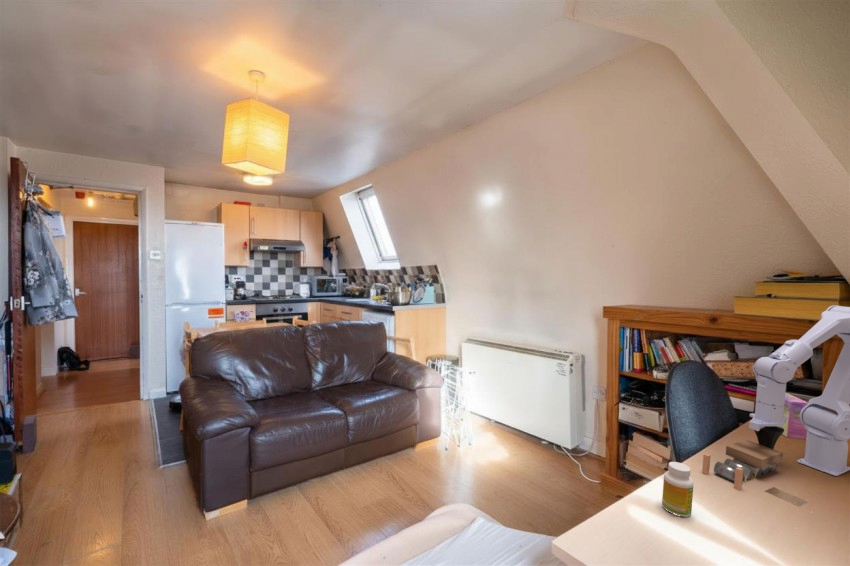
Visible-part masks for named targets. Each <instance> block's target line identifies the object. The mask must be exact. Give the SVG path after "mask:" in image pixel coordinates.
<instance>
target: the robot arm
mask: <svg viewBox="0 0 850 566" xmlns="http://www.w3.org/2000/svg"><path fill="white" fill-rule="evenodd" d="M820 314H821V315H820V320H818V322H816V323H815V324H814V325H813V326H812V327H811V328H810V329H809V330H807V332H805V333H804V334H803V335H802V336H801V337H800V338H799V339H789V340H786V341H785V342H784V344H783V345H781V346H780V347H779V348H777V349H776V350H774V352H772V353H770V354H769V355H768V356H761V357H759V358H758V359H757V360H756V361H755V363H754V365H752V370H753V373H754V374H755V381H756V382H757V385H756V396H755V398H756V399H755V409H754V413H753V412H752V413H749V417H750V418H752V419H751V420H749V425H748V429H751V430H753V431H754V433H755V435H756V438H757V442H758V443H757V444H760V445H763V446H766V447H768V448H771V449H774V448H775V446H776V443H777V441H778V440H779V438H780V437H781V436H782V435H783V434H782V433H783V432H784V429H783V428H780V427H777V426H783V425H784V424H785V423H786V419H787V417H786V416H783V415H784V403H785V393H787V392H786V391H787V383H788V382H789V381H791V380H793V378H794V376H795V373H796V372H797V371H798V368H799V366H800V367H801V365H802V364H804V363H805V362H806V361H808V360H809V359H810V358H812V357H813V356H814V352H813V350H814V348H817V347H818V346H820V345H821V344H823V343H824V342H826V341H828V340H829V339H831V338H832V337H834V336H835V335H837V337H839V338H840V339H842V341H843V343H844V344H843V347H842V348H841V350H840V354H839V355H838V357H837V360H836V362H835V365H834V366H833V369H832V372H831V373H830V375H829V378H828V380H827V382H826V385H825V386H824V389H823V392H822V393H821V395H819V396H817V397H812V398H810V399H809V400H808V404H807V405H806V406H805V407H804V408H803V409H802V410H801V412H800V420H801V422H802V423H803V424H804V425H805V429H807V437H806V439H805V440H806V441H805V448H804V449H805V450H804V457H803V458H800V459H797V463H798V464H802V465H804V466H807V467H810V468H813V469H815V470H818V471H821V472H823V473H826V474H829V475H832V476H835V477H838V476H840V475H842V474H845V473H846V472H849V471H850V466H849V465H848V466H847V464H848V455H849V442H848V441H849V440H850V306H841V305H837V304H835V305H834V304H833V305H831V306H829V307H827V308H826V310H825V311H822V313H820ZM774 450H775V449H774Z"/></svg>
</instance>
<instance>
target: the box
mask: <svg viewBox="0 0 850 566" xmlns="http://www.w3.org/2000/svg"><path fill="white" fill-rule="evenodd" d="M808 402H809V401H808ZM808 402H807V401H805V400H803V399H801V398H800V397H796V396H795V395H793V394H790V393H788V392H785V403H784V415H783V416H786V417H787V419H786V423H785V424H784V425H783V426H777V427H780V428H783V429H784V432H783V433H782V434H781V435H783V436H784V437H786V438H790V439H798V440H799V439H800V440H806V437H807V429H805V425H804V424H803V423H802V422H801V420H800V412H801V410H802V409H803V408H804V407H805V406H806V405H807V404H808Z"/></svg>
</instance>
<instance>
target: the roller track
mask: <svg viewBox="0 0 850 566" xmlns="http://www.w3.org/2000/svg"><path fill="white" fill-rule="evenodd" d="M732 460H733V461H736V462H738V463H740V464H743V465H745V466H748V467H750V468H752V470H753V474H752V477H751V478H750V479H749V480H747V479H746V478H747V476H746V475H744V474H743V478H742V483H747V482H750V481H753V480H756V479H757V477H760V476H761V475H762V474H763V475H766V474H768V472H769V471H770V472H774V471H775V470H776V468H777V464H775V465H772V466H769V467H766V468H764V469H760V468H757V467H755V466H752V465H750V464H748V463H745V462H743V461H740V460H738V459H735V458H733V459H732ZM735 470H736V469H735V468H733V467H731V466H728V465H726V464H724V462H722V461H716V463H715V464H714V467H713V472H714V474H715V475H716V476H717V475H718V476H720V477H722V478H723V479H727V480H729V481H731V482H733V483H734V482H735ZM764 492H765V493H766V494H767V493H768V494H770V496H774V497H776V498H778V499H781V500H782V501H784V502H787V503H790V504H792V505H795V506H796V507H801V506H803V505H806V504H808V503H809V501H807V500H805V499H804V498H803V499H802V498H800V497H798V496H796V495H793V494H791V493H788V492H786V491H784V490H781V489H779V488H777V487H776V486H775V487H773V486H772V487H771V488H769V489H766V490H764Z"/></svg>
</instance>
